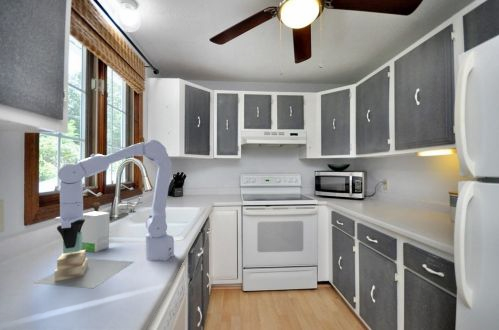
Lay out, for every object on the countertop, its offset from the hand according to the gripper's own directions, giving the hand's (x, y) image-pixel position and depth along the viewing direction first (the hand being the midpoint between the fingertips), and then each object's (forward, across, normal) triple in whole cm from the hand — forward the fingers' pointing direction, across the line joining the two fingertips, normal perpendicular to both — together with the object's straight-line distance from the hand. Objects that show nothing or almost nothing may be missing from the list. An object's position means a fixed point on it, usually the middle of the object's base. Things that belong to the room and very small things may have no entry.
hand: (72, 245), depth 70 cm
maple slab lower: (+9, 0, 0) cm, 9 cm away
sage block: (+2, 0, 0) cm, 2 cm away
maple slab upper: (+6, 0, 0) cm, 6 cm away
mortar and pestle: (+10, -37, +2) cm, 39 cm away
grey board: (+10, +1, +4) cm, 11 cm away
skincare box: (+10, -23, +3) cm, 25 cm away
